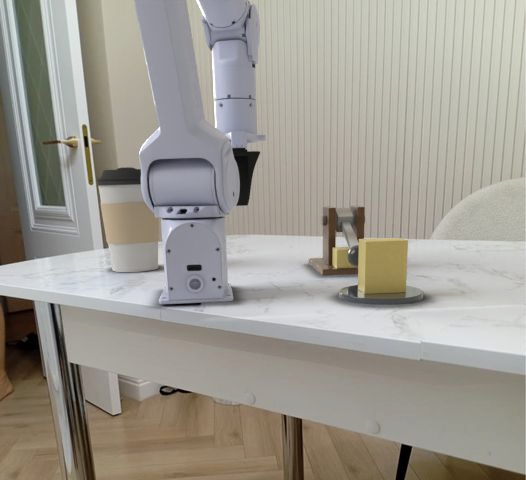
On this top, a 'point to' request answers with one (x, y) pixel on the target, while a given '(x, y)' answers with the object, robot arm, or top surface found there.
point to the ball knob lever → (348, 233)
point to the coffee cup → (128, 221)
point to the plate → (380, 296)
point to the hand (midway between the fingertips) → (238, 204)
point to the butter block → (341, 258)
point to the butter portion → (382, 265)
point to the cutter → (329, 240)
